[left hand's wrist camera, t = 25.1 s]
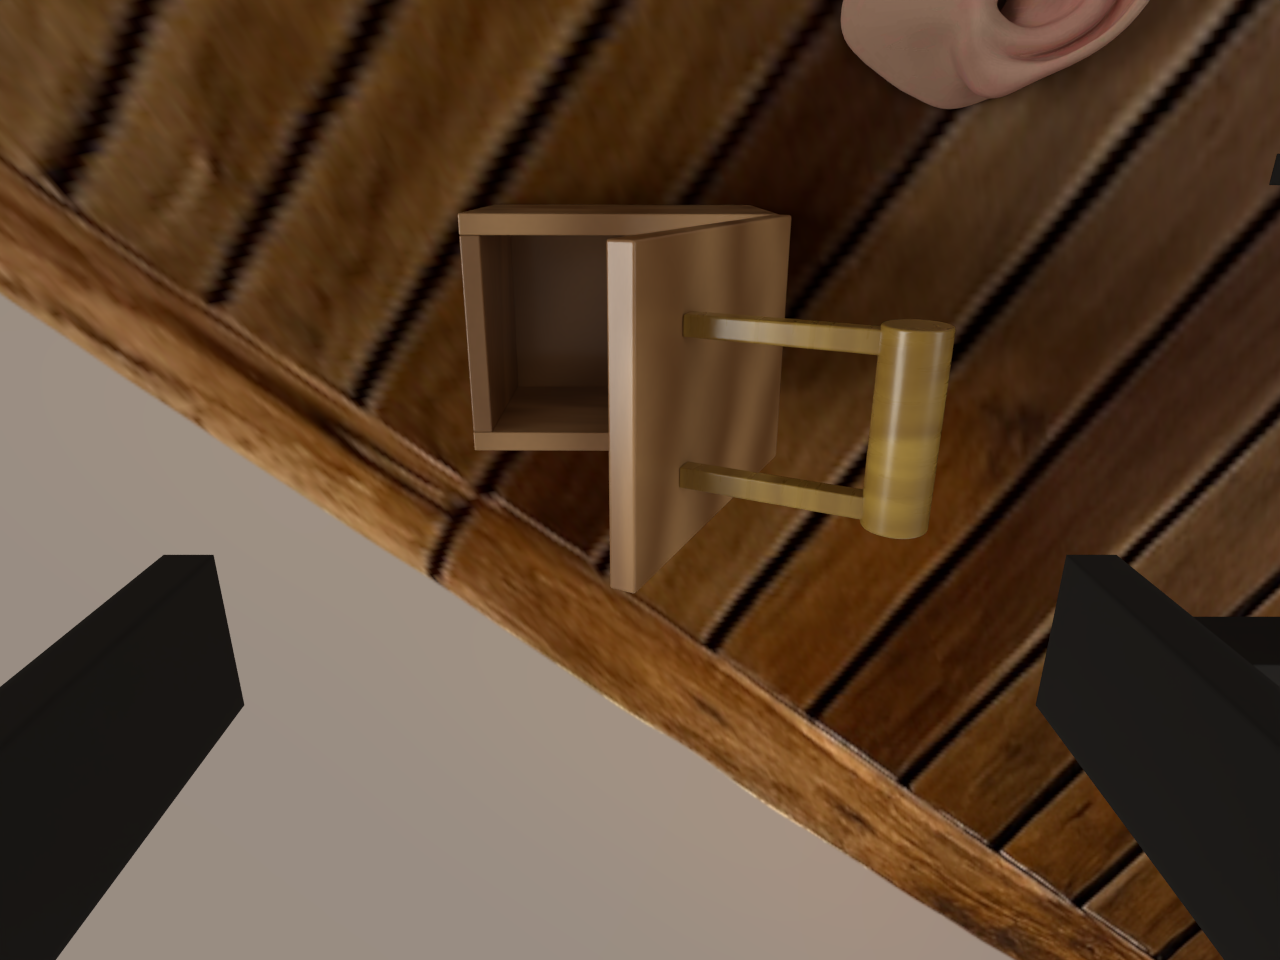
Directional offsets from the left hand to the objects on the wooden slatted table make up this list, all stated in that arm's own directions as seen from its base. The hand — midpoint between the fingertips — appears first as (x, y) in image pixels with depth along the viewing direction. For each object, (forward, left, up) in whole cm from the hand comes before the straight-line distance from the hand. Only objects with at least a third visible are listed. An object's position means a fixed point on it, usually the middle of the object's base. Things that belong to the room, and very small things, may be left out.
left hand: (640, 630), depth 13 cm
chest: (0, -1, -33) cm, 33 cm away
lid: (-1, +2, -17) cm, 17 cm away
